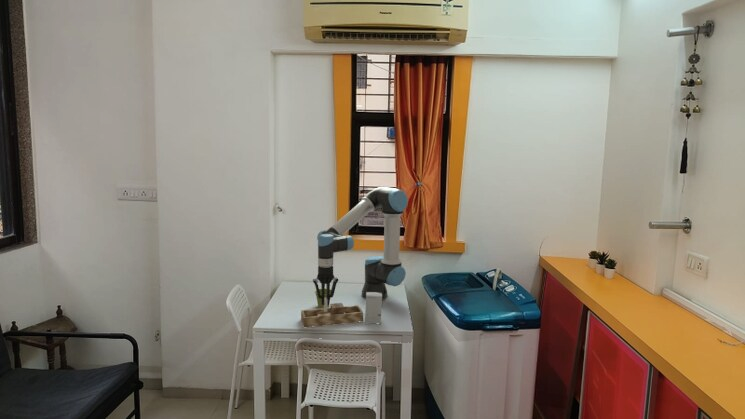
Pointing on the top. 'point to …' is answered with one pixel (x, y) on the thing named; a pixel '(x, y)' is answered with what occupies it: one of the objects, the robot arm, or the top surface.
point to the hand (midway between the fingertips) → (325, 310)
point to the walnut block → (336, 308)
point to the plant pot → (321, 299)
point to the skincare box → (373, 307)
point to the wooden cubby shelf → (331, 316)
